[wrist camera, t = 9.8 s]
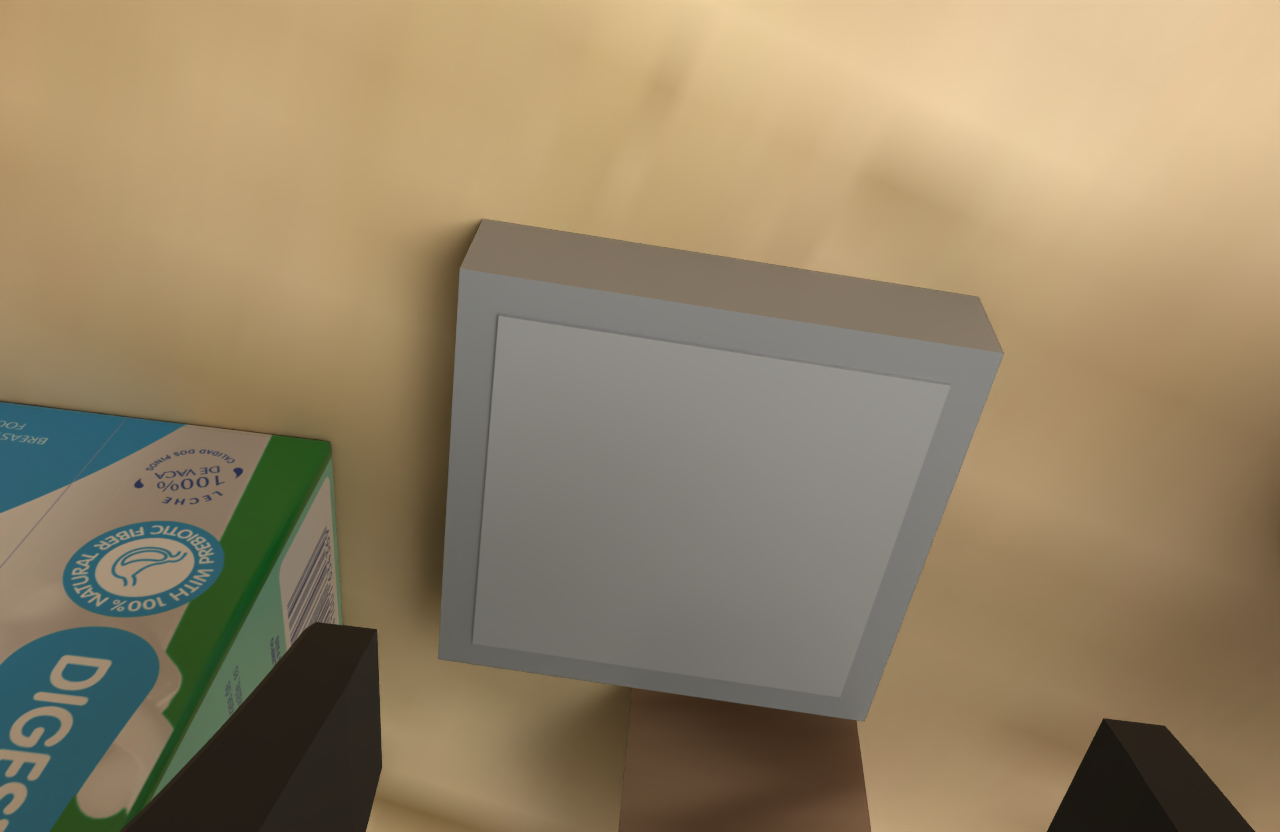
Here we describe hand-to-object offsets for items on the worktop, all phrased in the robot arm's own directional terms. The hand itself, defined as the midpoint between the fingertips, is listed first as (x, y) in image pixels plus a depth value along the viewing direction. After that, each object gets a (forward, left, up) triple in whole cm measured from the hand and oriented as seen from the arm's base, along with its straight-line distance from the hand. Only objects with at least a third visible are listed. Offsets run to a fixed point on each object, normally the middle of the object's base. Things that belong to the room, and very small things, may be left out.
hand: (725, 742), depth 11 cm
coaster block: (0, +4, -11) cm, 12 cm away
